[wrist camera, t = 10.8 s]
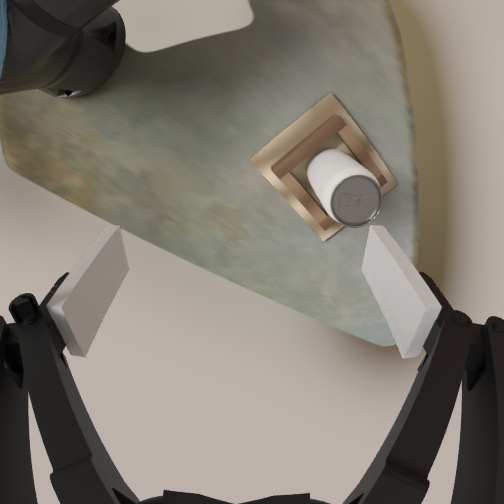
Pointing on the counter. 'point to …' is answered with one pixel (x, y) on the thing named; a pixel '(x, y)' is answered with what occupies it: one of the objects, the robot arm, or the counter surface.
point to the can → (345, 188)
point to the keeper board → (305, 148)
